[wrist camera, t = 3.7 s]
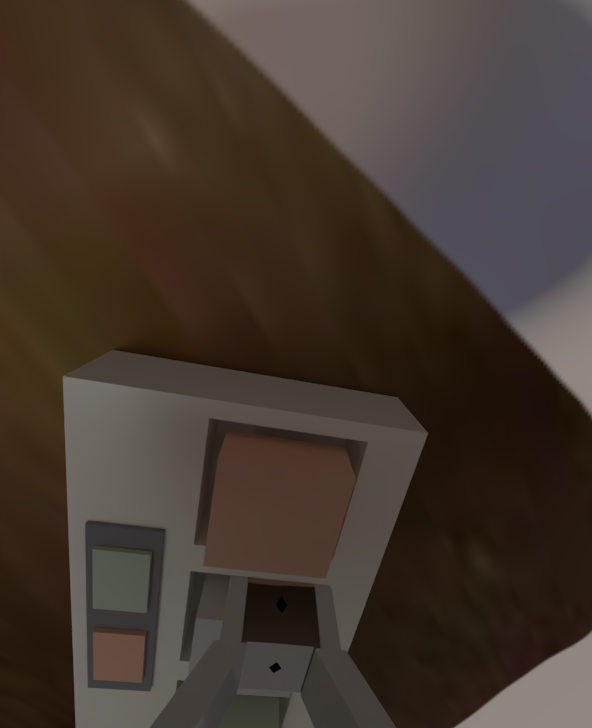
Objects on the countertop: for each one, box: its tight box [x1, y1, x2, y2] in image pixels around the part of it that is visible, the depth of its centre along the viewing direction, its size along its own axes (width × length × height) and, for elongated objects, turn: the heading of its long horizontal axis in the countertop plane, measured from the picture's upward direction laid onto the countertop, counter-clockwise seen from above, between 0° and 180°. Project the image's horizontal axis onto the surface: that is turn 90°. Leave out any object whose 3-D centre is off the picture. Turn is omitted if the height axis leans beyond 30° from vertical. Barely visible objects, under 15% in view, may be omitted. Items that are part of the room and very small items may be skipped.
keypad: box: [63, 350, 428, 728], centre depth 17 cm, size 24×14×4 cm, turn 169°
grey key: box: [188, 573, 291, 698], centre depth 15 cm, size 5×5×2 cm
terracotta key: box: [203, 430, 356, 579], centre depth 13 cm, size 5×5×2 cm
